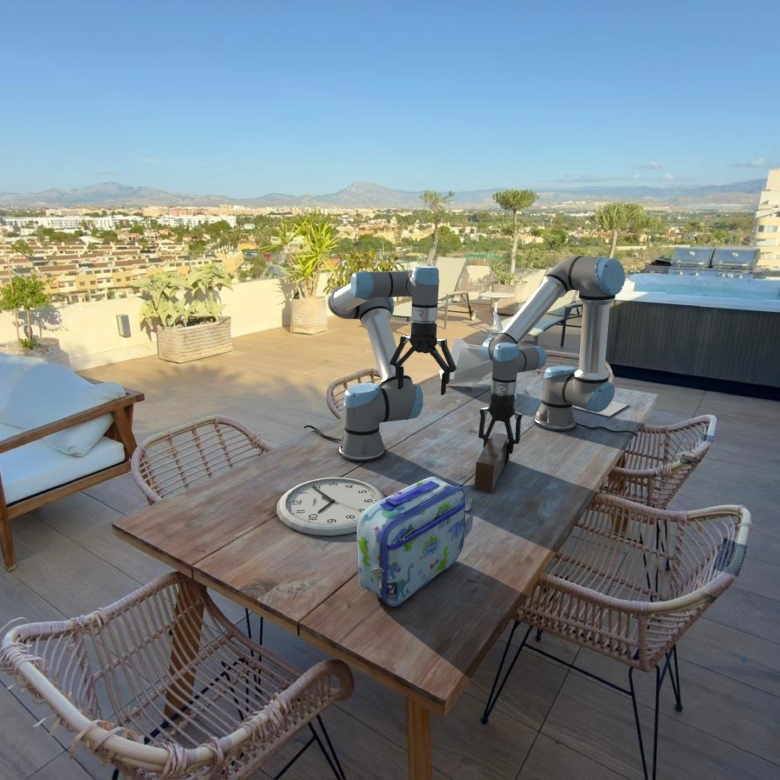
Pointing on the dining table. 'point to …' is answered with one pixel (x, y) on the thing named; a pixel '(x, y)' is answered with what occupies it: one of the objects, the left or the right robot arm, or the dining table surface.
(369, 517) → the lunch box
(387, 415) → the left robot arm
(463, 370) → the white plastic object
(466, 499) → the fork
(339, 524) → the wall clock
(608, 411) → the invitation card
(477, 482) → the bar
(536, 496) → the dining table surface
